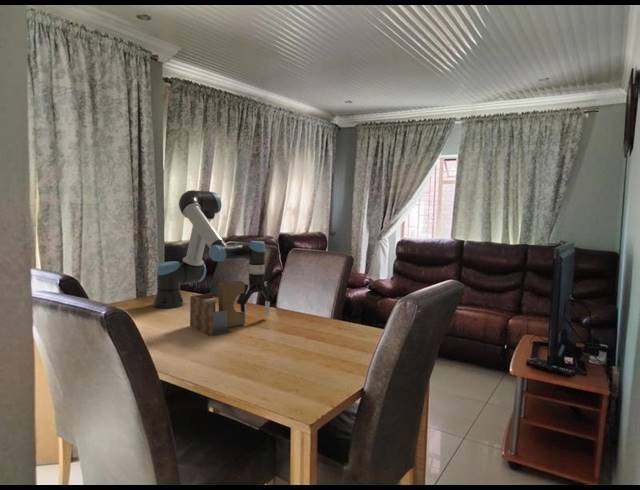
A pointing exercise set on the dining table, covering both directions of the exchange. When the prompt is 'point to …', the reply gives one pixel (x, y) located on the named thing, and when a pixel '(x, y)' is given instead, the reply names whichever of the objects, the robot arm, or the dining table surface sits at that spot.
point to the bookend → (220, 323)
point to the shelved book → (211, 302)
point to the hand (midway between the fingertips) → (255, 316)
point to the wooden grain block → (201, 313)
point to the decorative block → (231, 301)
